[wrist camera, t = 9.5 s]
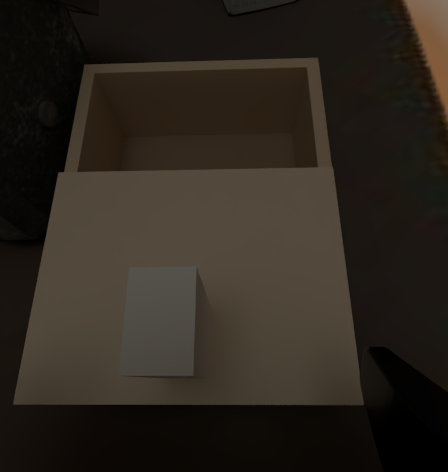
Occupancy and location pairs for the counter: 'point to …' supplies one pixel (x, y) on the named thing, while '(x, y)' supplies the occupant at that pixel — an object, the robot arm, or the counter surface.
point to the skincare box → (251, 5)
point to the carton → (199, 116)
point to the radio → (36, 106)
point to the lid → (192, 292)
